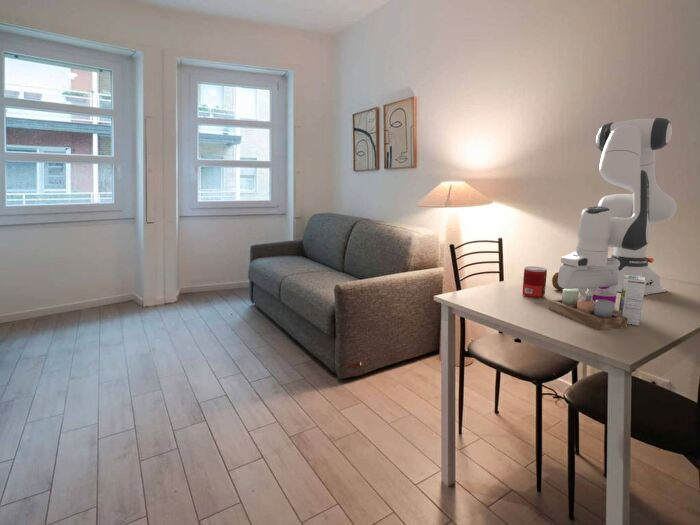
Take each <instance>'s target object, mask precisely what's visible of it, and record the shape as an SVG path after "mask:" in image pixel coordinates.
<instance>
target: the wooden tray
mask: <svg viewBox="0 0 700 525" xmlns="http://www.w3.org/2000/svg"><path fill="white" fill-rule="evenodd" d="M547 308H548V309H549V310H551V311H553V312H555V313H558V314H560V315H562V316H565V317H567V318H570V319H572V320H575V321H577V322H578V323H582V324H584V325H586V324H587V325H586V326H588V325H589V326H588V327H590V328H593V329H595V328H596V329H595V330H598V331H599V330H602V329H603V330H611V328H614V329H622V328H621V327H625V328H627V327H628V324H627V320H628V318H627V317H624V316H621V315H618V313H615V312H613V314H612V318H605V319H602V318H600V317H597V316H594V311H588V312H584V311H581V310H579V309H577V305H569V306H568V305H566V304H563V303H562V298H561V299H559V298H558V299H548V305H547ZM594 309H595V306H594ZM603 330H602V331H603Z"/></svg>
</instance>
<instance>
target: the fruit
mask: <svg viewBox="0 0 700 525" xmlns="http://www.w3.org/2000/svg"><path fill="white" fill-rule="evenodd" d="M558 274H559V271H558V272H555V273H554V274H553V275H552V279H551V284H552V286H553V288H554V289H556V290H557V291H563V289H565V288H561V287H560V286H559V285H558Z"/></svg>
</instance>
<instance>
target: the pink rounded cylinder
mask: <svg viewBox="0 0 700 525" xmlns="http://www.w3.org/2000/svg"><path fill="white" fill-rule="evenodd" d="M594 305H595V301H594V300H592V301H582V300H581V298H578V303H577V309H579V310H581V311H584V312H588V311H594Z"/></svg>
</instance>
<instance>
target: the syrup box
mask: <svg viewBox="0 0 700 525" xmlns="http://www.w3.org/2000/svg"><path fill="white" fill-rule="evenodd" d="M645 284H646V278H645V277H640V276H633V275H625V276H624V280H623V286H622V291H621V292H620V298H619V307H618V313H617V314H618V315H621V316H624V317H627V318H628V320H627V325H631V324H632V325H633V326H640V321H641V316H642V315H641V314H642V311H643V302H644V296H645V295H644V291H645ZM632 325H631V326H632Z"/></svg>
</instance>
